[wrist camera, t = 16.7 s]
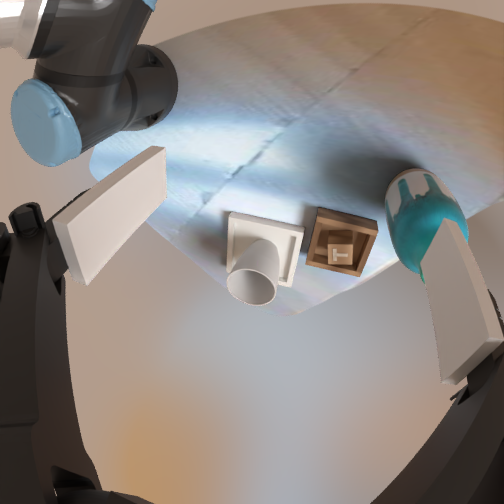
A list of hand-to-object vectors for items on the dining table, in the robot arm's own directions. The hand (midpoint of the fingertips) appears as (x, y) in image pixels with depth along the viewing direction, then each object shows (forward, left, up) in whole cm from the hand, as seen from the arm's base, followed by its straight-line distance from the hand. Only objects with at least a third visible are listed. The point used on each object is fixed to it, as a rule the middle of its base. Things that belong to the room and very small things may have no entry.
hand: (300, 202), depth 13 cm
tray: (-6, -29, -32) cm, 43 cm away
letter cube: (+7, -23, -31) cm, 39 cm away
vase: (+16, -11, -32) cm, 37 cm away
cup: (-6, -28, -31) cm, 43 cm away
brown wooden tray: (+7, -23, -32) cm, 39 cm away
